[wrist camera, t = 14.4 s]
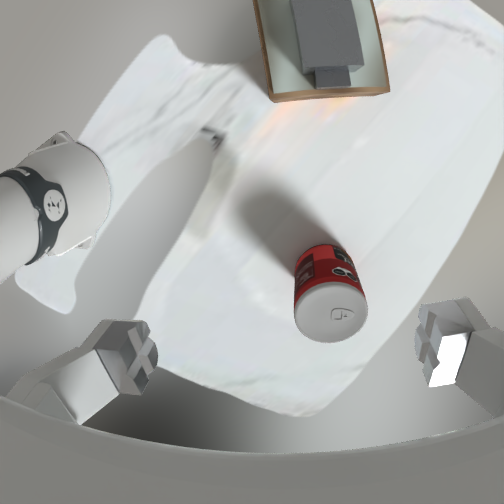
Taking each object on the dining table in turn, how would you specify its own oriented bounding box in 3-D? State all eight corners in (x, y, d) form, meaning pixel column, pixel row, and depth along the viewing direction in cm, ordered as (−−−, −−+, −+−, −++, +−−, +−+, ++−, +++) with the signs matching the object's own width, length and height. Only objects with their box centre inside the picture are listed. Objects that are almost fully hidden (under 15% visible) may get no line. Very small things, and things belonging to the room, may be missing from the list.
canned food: (357, 285, 42) (372, 334, 32) (303, 298, 44) (303, 350, 34) (346, 235, 39) (362, 275, 30) (288, 251, 41) (285, 295, 31)
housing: (289, 2, 23) (288, -15, 19) (340, 0, 22) (346, -17, 18) (305, 91, 26) (307, 86, 22) (356, 88, 25) (367, 83, 21)
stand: (274, 102, 34) (269, 98, 27) (259, 13, 29) (250, -9, 22) (373, 96, 32) (392, 91, 25) (357, 7, 27) (370, -16, 20)
